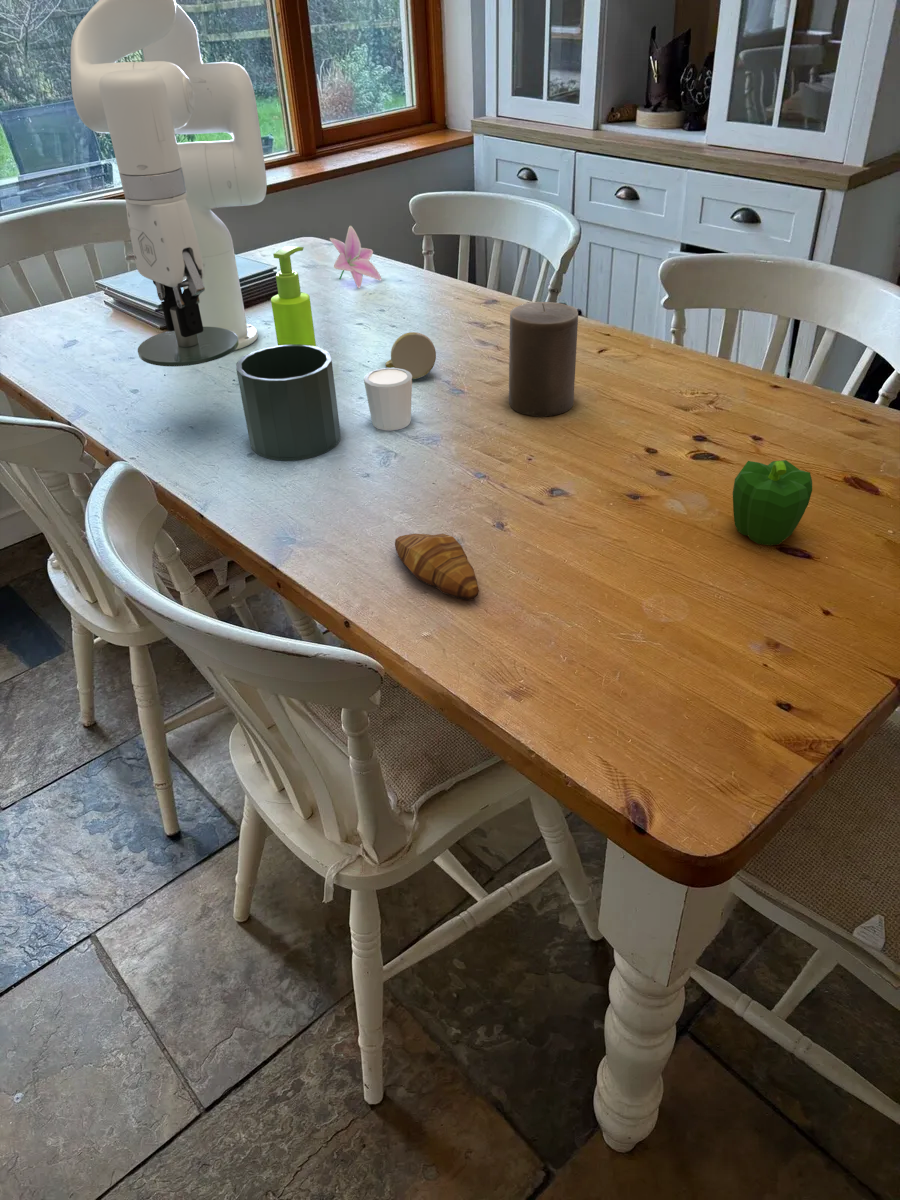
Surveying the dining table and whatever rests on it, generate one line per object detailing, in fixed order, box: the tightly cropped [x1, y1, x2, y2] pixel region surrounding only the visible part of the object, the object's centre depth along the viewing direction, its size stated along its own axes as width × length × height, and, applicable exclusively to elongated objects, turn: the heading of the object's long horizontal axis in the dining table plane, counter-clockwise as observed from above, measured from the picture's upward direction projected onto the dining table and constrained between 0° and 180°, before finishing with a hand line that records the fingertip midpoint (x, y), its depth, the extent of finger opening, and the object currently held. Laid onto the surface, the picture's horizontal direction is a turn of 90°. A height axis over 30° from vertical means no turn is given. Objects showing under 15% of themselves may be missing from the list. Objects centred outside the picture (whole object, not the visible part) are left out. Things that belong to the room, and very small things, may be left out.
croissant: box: [394, 533, 480, 601], centre depth 95 cm, size 14×7×5 cm, turn 39°
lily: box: [329, 225, 383, 289], centre depth 178 cm, size 12×12×10 cm
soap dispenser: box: [270, 245, 317, 347], centre depth 135 cm, size 6×7×20 cm
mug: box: [384, 331, 437, 380], centre depth 140 cm, size 8×10×10 cm
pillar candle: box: [508, 301, 579, 418], centre depth 126 cm, size 10×10×15 cm
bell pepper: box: [732, 459, 813, 546], centre depth 98 cm, size 8×8×10 cm
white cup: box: [363, 367, 413, 432], centre depth 125 cm, size 7×7×7 cm
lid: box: [137, 305, 239, 368], centre depth 119 cm, size 14×14×6 cm
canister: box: [235, 344, 341, 462], centre depth 120 cm, size 13×13×12 cm
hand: (185, 330), depth 119 cm, fingers closed on lid, 2 cm apart
